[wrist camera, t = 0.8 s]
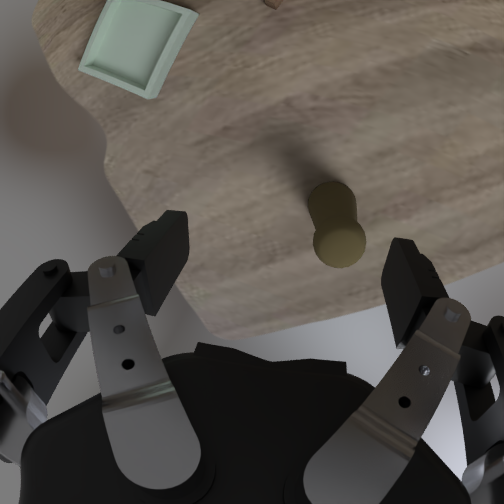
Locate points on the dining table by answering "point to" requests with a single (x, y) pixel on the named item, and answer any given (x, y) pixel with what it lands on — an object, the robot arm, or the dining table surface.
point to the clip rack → (273, 3)
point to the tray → (137, 44)
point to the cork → (336, 225)
